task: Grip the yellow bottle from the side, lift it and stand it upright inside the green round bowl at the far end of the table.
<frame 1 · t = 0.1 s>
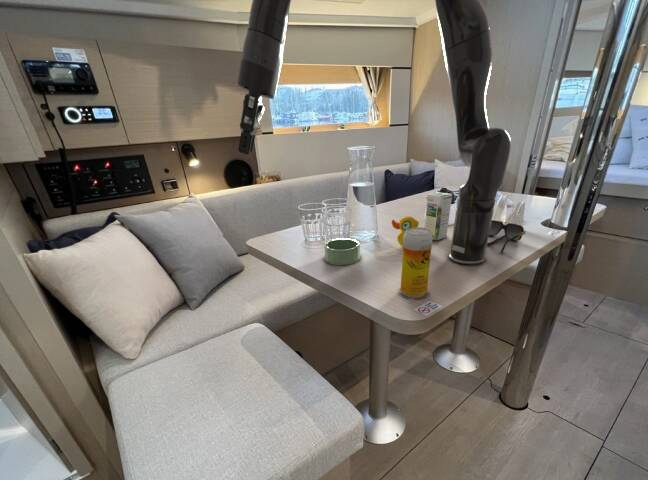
hand: (245, 151, 69), 31 cm above the table, tool tilted 20°, fingers open, 8 cm apart
shaker set: (503, 227, 115), on the table
duckling: (409, 248, 101), on the table
sunglasses: (491, 242, 102), on the table
yellow bottle: (413, 293, 75), on the table
syrup box: (434, 237, 109), on the table
green round bowl: (342, 258, 96), on the table
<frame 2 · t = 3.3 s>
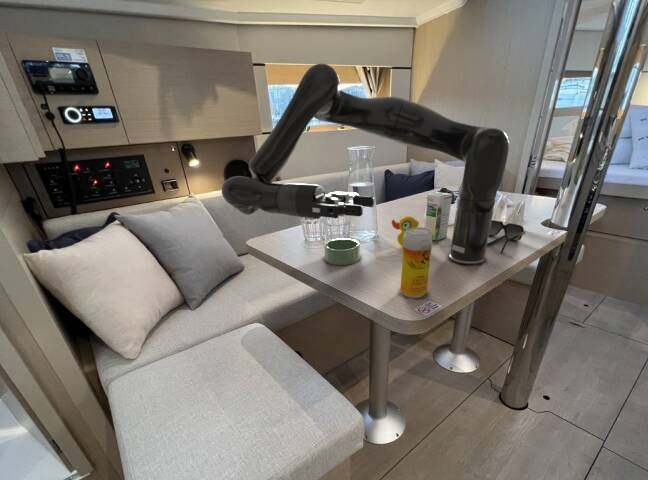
hand: (368, 206, 69), 20 cm above the table, tool horizontal, fingers open, 8 cm apart
nothing on the table moved.
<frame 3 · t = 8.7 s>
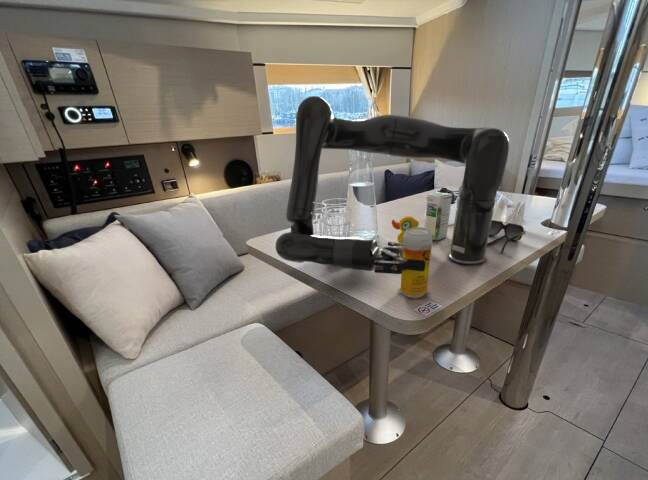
hand: (426, 260, 70), 9 cm above the table, tool horizontal, fingers closed on yellow bottle, 6 cm apart
yellow bottle: (413, 293, 75), on the table, touching gripper
everything else where it was.
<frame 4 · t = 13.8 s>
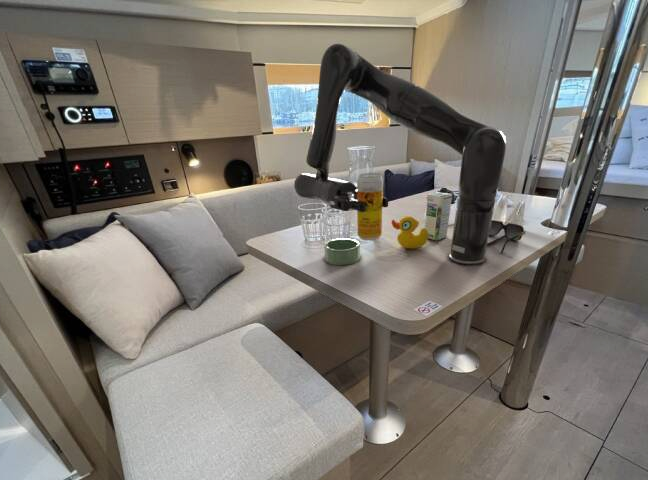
hand: (376, 205, 75), 19 cm above the table, tool horizontal, fingers closed on yellow bottle, 6 cm apart
yellow bottle: (369, 237, 81), point 10 cm above the table, touching gripper
everything else where it was.
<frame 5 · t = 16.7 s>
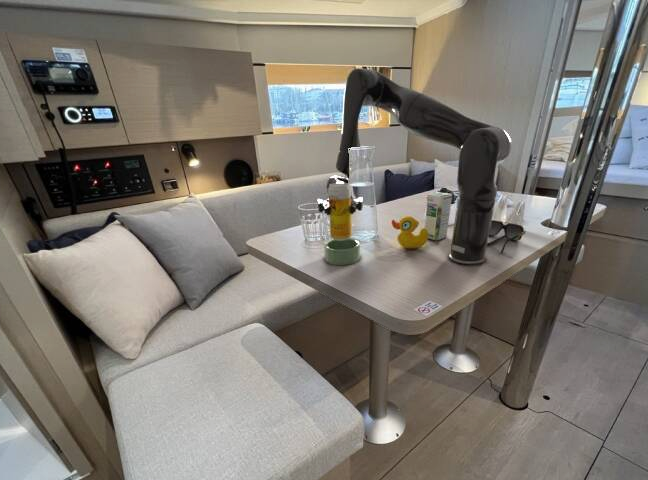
hand: (340, 210, 87), 15 cm above the table, tool horizontal, fingers closed on yellow bottle, 6 cm apart
yellow bottle: (341, 238, 93), point 6 cm above the table, touching gripper
everything else where it was.
when the fingers open (9 cm above the table, at t = 18.9 s): yellow bottle stays where it is, resting on green round bowl.
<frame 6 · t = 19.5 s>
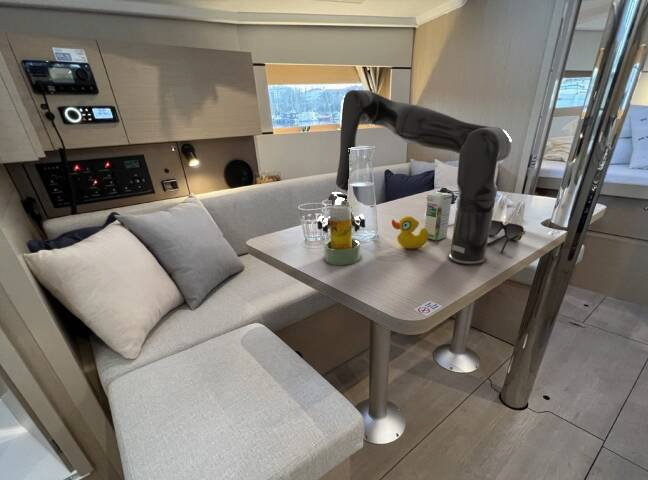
hand: (341, 228, 89), 10 cm above the table, tool horizontal, fingers open, 8 cm apart
yellow bottle: (342, 257, 96), resting on green round bowl
everything else where it was.
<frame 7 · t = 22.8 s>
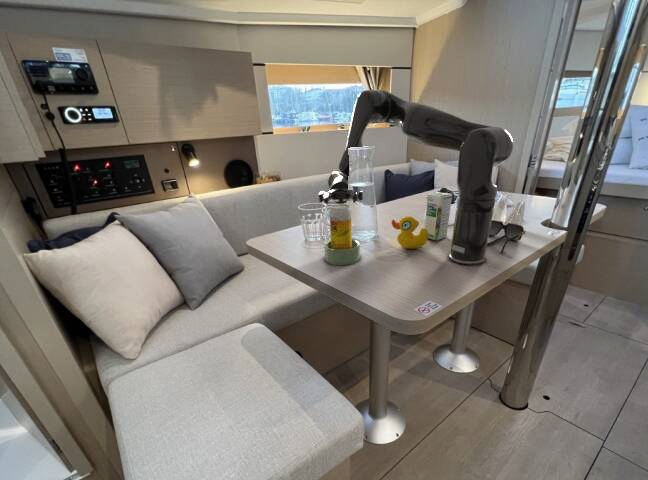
hand: (340, 200, 98), 15 cm above the table, tool horizontal, fingers open, 8 cm apart
nothing on the table moved.
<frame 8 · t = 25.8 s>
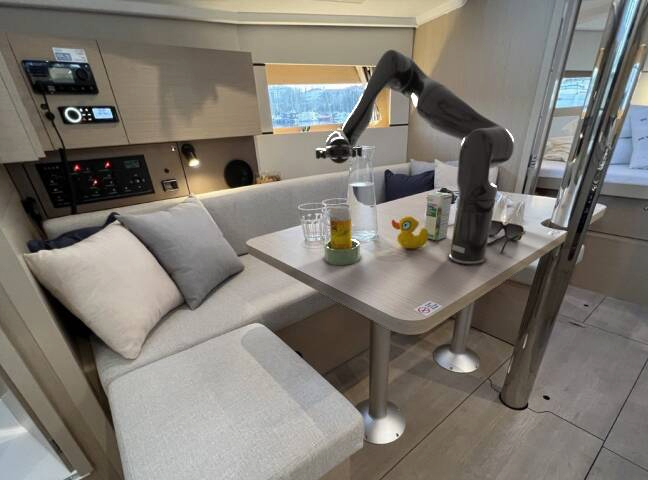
hand: (338, 154, 92), 28 cm above the table, tool horizontal, fingers open, 8 cm apart
nothing on the table moved.
at the end: yellow bottle 0.1 cm off-centre in the green round bowl, point 0.3 cm above the green round bowl's base; yellow bottle tilted 0°; the gripper is holding nothing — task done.
